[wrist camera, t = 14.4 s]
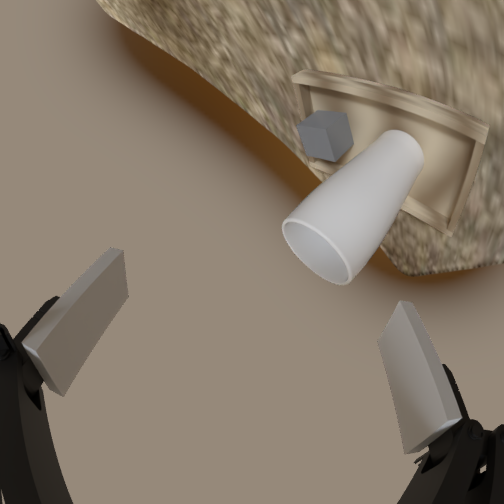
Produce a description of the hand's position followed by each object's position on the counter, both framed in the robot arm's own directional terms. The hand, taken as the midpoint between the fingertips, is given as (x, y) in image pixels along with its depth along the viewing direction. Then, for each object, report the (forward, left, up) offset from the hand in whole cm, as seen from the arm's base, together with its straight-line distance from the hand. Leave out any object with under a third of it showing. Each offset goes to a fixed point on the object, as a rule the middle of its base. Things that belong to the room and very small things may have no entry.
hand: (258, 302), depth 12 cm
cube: (-11, -6, -21) cm, 24 cm away
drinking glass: (-2, -6, -21) cm, 22 cm away
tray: (-4, -6, -22) cm, 23 cm away
